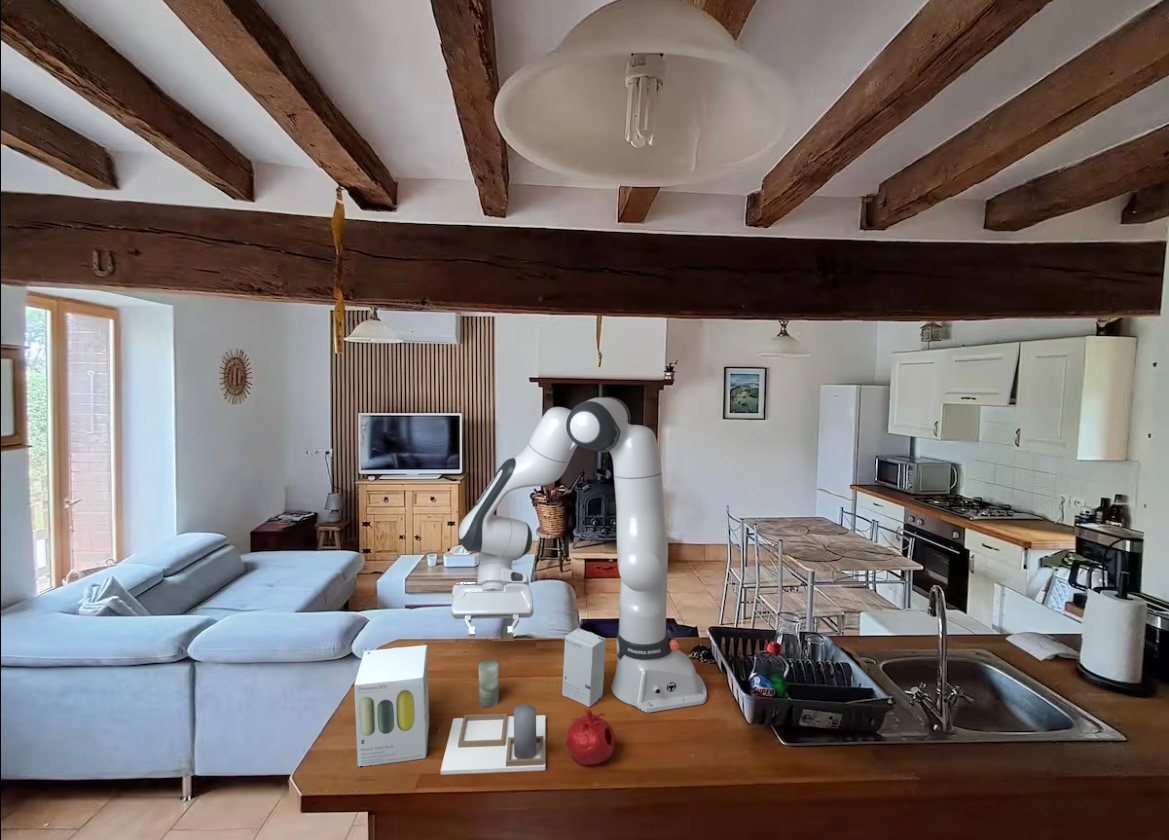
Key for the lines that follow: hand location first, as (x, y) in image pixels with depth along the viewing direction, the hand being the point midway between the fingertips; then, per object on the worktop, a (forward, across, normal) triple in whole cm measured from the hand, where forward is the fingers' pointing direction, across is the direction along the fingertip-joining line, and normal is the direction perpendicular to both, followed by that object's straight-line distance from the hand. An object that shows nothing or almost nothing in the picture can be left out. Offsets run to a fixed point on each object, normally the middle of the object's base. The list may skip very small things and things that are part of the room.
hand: (491, 635), depth 141 cm
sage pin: (+14, 0, +3) cm, 14 cm away
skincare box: (+13, +22, +4) cm, 26 cm away
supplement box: (+24, -18, -6) cm, 30 cm away
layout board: (+25, +3, -7) cm, 26 cm away
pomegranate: (+28, +22, -10) cm, 37 cm away
